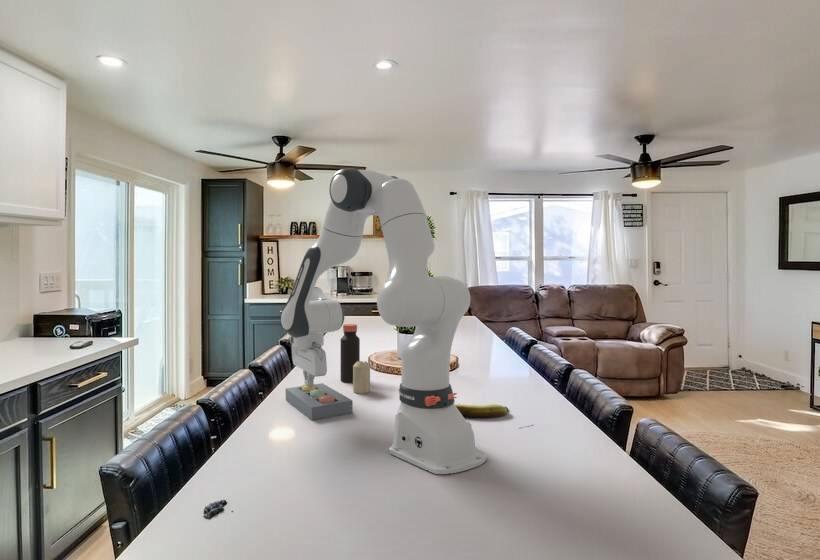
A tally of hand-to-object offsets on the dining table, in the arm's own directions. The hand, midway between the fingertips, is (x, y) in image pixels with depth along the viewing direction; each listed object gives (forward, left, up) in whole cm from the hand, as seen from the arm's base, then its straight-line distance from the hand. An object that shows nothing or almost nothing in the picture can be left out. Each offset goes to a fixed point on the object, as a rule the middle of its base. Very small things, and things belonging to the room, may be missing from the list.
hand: (309, 385), depth 141 cm
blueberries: (-52, +36, -5) cm, 64 cm away
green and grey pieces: (-38, -36, -6) cm, 53 cm away
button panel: (-7, 0, -5) cm, 8 cm away
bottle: (+15, -21, -5) cm, 26 cm away
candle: (0, -18, -5) cm, 19 cm away
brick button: (-14, 0, -3) cm, 14 cm away
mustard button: (0, 0, -3) cm, 3 cm away
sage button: (-7, 0, -3) cm, 8 cm away
